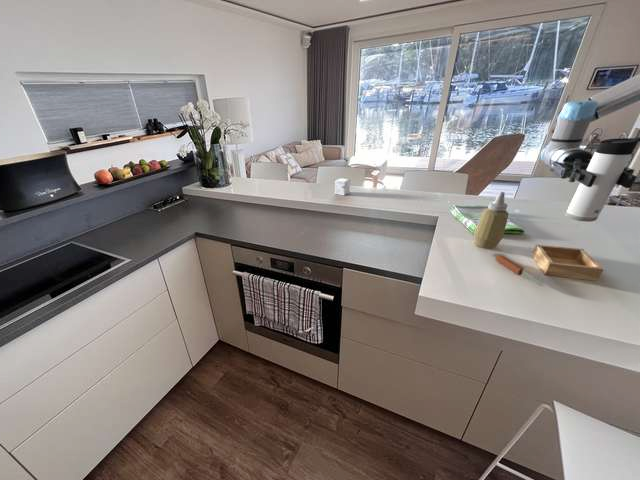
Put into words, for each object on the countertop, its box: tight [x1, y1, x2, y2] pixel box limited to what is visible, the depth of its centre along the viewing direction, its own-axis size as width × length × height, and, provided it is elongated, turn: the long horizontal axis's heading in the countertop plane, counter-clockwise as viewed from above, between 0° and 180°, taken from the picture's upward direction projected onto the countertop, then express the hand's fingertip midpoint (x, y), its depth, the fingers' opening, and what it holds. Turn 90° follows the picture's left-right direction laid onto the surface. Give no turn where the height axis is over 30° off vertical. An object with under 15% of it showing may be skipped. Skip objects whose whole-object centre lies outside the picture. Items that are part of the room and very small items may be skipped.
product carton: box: [334, 177, 351, 196], centre depth 155 cm, size 6×6×7 cm
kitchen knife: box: [495, 255, 544, 287], centre depth 80 cm, size 16×1×2 cm, turn 5°
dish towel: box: [449, 204, 525, 235], centre depth 111 cm, size 17×23×4 cm
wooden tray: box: [531, 244, 605, 282], centre depth 81 cm, size 12×11×4 cm
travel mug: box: [564, 136, 640, 223], centre depth 72 cm, size 6×7×20 cm
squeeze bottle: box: [473, 191, 509, 250], centre depth 91 cm, size 8×8×18 cm
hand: (611, 181), depth 68 cm, fingers closed on travel mug, 6 cm apart
